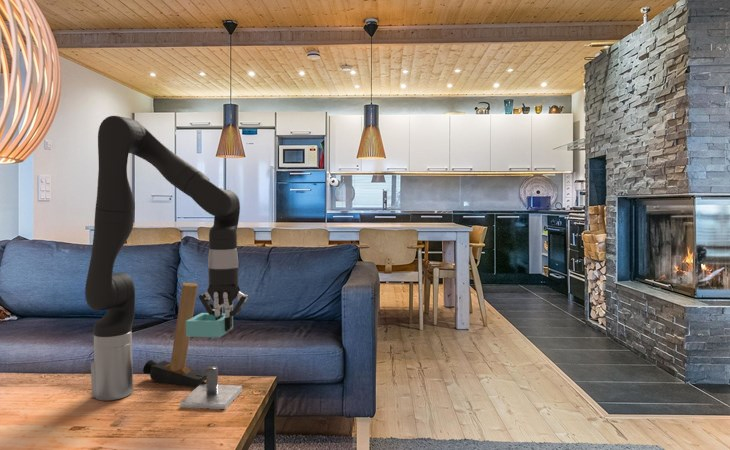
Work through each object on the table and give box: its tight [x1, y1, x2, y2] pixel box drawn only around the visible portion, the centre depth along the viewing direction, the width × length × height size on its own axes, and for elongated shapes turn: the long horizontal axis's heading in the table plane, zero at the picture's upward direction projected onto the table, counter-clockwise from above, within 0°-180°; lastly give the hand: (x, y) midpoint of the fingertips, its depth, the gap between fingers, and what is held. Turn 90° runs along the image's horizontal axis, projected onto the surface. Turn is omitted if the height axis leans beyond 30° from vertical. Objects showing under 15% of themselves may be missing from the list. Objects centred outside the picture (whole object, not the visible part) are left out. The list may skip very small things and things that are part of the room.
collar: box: [186, 312, 234, 339], centre depth 128 cm, size 9×9×4 cm
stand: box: [179, 365, 243, 411], centre depth 129 cm, size 12×12×8 cm
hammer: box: [142, 282, 206, 388], centre depth 140 cm, size 20×5×30 cm, turn 76°
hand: (224, 330), depth 128 cm, fingers closed on collar, 1 cm apart
